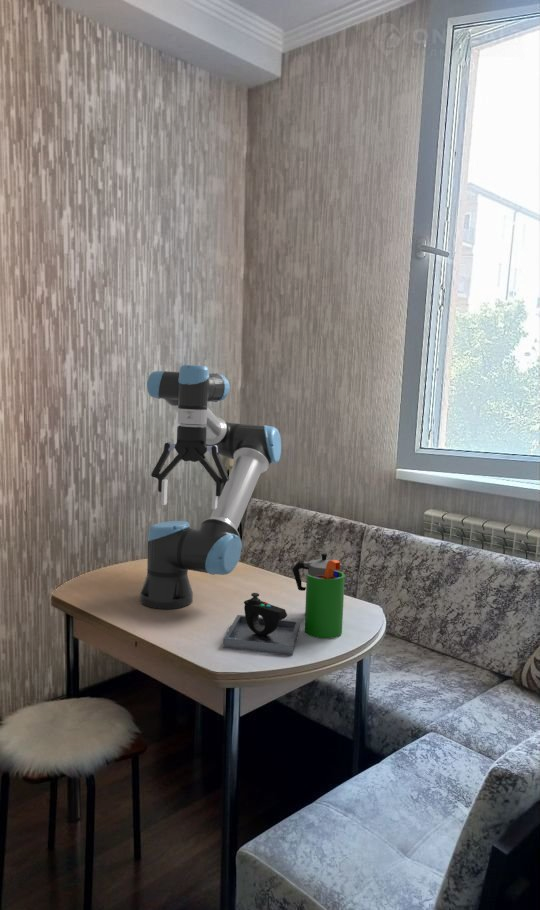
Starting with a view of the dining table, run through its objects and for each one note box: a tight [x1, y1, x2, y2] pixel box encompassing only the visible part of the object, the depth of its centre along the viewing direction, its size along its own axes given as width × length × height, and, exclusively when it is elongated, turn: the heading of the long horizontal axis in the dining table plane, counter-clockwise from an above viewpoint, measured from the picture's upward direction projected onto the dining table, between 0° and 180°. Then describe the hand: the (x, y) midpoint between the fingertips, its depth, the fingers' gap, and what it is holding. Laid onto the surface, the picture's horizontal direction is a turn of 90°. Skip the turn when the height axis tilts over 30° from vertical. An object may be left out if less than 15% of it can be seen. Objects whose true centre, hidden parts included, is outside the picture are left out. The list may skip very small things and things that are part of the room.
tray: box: [223, 614, 301, 656], centre depth 176 cm, size 17×17×2 cm
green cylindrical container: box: [304, 559, 346, 639], centre depth 181 cm, size 10×9×20 cm
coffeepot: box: [292, 553, 347, 592], centre depth 194 cm, size 15×9×18 cm, turn 101°
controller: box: [243, 592, 288, 636], centre depth 175 cm, size 4×12×10 cm, turn 51°
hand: (189, 506), depth 180 cm, fingers open, 13 cm apart
